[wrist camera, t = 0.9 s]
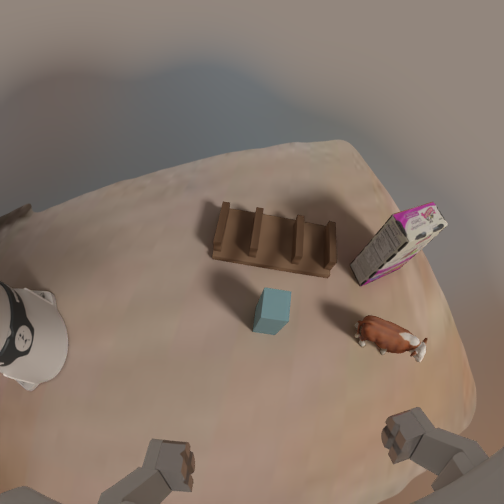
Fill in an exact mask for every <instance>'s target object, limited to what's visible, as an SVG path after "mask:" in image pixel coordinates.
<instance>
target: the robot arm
mask: <svg viewBox="0 0 504 504" xmlns="http://www.w3.org/2000/svg"><path fill="white" fill-rule="evenodd" d="M44 297H45V298H44ZM67 351H68V335H67V330H66V326H65V323H64V321H63V319H62V317H61V315H60V314H59V312H58V310H57V307H56V301H55V296H54V294H53V293H51V292H48V291H37V290H29V289H27V288H24V289H20V288H11V287H10V286H8V285H7V284H4V283H3V282H1V281H0V372H1V373H3V375H4V376H6V377H8V378H12V379H15V380H16V381H17V382H18V383H19V384H20V385H21V386H22V387H23V388H25V389H26V390H28V391H33V390H34V389H35V388H36V387H37V386H38V385H39V384H40V383H42V382H46V381H49V380H51V379H52V378H54V377H55V376H56V375H57V374H58V373H59V372H60V370H61V369H62V367H63V365H64V363H65V360H66V356H67ZM385 423H386V424H387V425H386V426H385V427H384V428H383V430H382V433H381V439H382V443H383V445H384V447H385V448H387V449H389V453H388V455H389V457H390V459H391V461H392V463H393V464H396V463H398V462H401V461H404V460H407V459H409V458H410V460H412V461H414V462H415V463H417V464H419V465H420V466H422V467H424V468H425V469H427V470H429V471H431V472H433V473H434V474H436V475H438V477H437V478H436V479H435V480H434V482H433V483H432V485H431V486H432V488H433V490H434V492H433V493H431V494H429V495H427V496H425V497H423V498H421V499H419V500H417V501H415V502H413V503H410V504H504V447H502V448H501V449H500V450H499V451H497V452H496V453H495V454H493V455H492V456H491V457H490V458H489V457H488V456H487V454H486V453H485V452H484V451H483V449H482V448H481V447H480V445H479V444H478V443H477V442H476V441H474V440H471V439H468V438H465V437H462V436H459V435H456V434H454V433H451V432H448V431H446V430H443V429H440V428H435V427H434V426H433V424H432V423H431V422H430V420H429V419H428V418H427V416H426V415H425V414H424V412H423V411H422V410H421V408H419V407H416V408H413V409H410V410H407V411H404V412H401V413H398V414H395V415H392V416H389V417H388V418H387V420H386V422H385ZM194 471H195V458H194V454H193V452H191V451H190V444H189V442H179V441H169V440H160V439H152V440H151V441H150V443H149V446H148V449H147V453H146V456H145V459H144V462H143V466H142V468H141V467H138V468H137V469H136V470H134V471H133V472H132V473H130V474H129V475H127V476H126V477H125V478H123V479H122V480H120V481H119V482H118V483H116V484H115V485H113V486H112V487H110V488H109V489H107V490H106V491H104V492H103V493H101V496H100V499H99V501H98V504H160V503H161V502H162V501H163V500H164V499H165V498H166V497H167V496H168V495H169V494H170V493H171V492H172V491H184V492H192V486H193V478H192V476H191V474H192V473H194ZM171 490H172V491H171ZM0 504H62V503H59V502H57V501H55V500H53V499H51V498H49V497H47V496H45V495H43V494H41V493H39V492H37V491H36V490H34V489H32V488H30V487H27V486H22V487H17V488H14V489H11V490H9V491H6V492H3V493H1V494H0Z"/></svg>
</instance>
